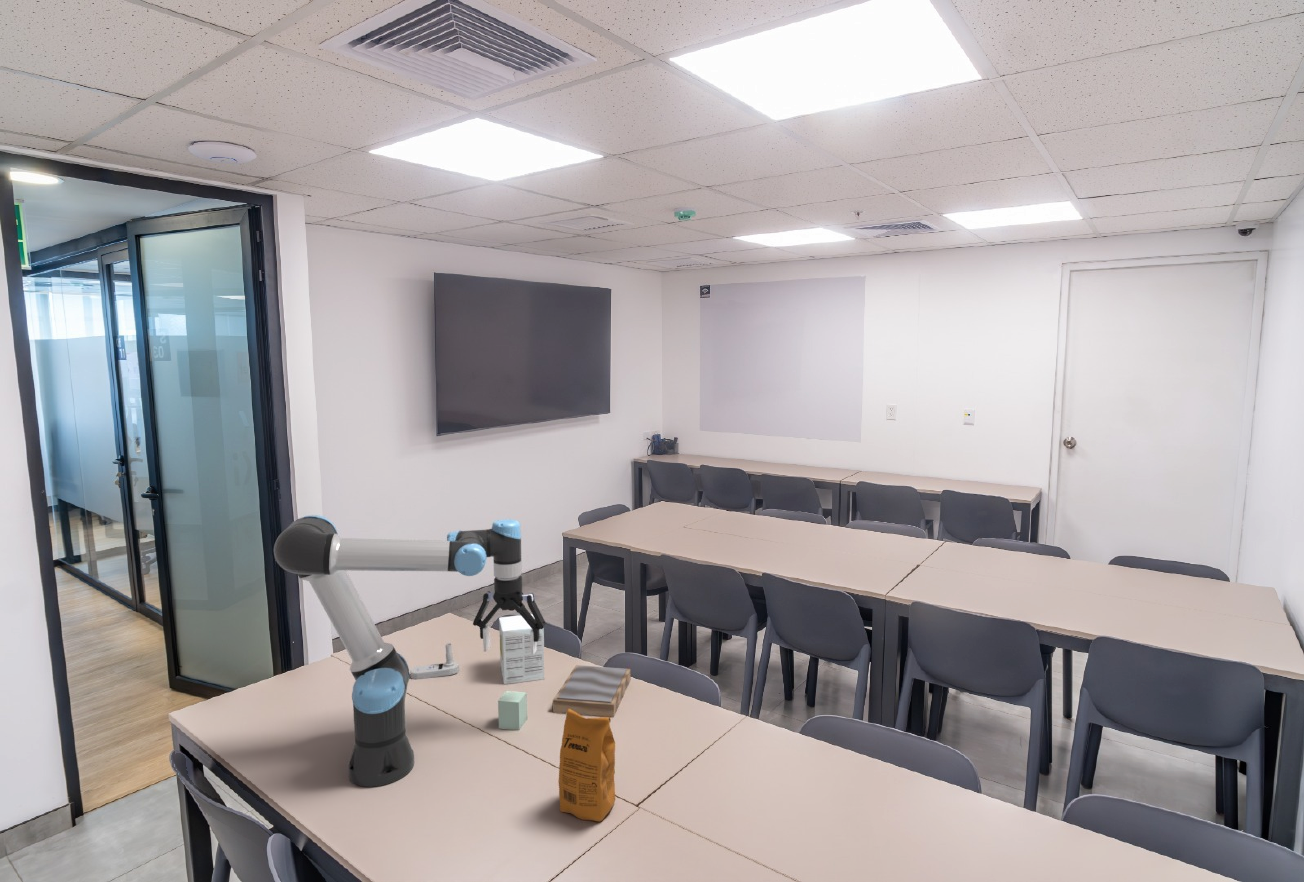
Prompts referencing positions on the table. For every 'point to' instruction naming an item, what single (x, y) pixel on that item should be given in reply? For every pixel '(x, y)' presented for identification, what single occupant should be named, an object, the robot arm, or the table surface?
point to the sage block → (512, 710)
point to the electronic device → (437, 667)
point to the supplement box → (519, 651)
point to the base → (593, 691)
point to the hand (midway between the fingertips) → (510, 651)
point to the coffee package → (587, 767)
